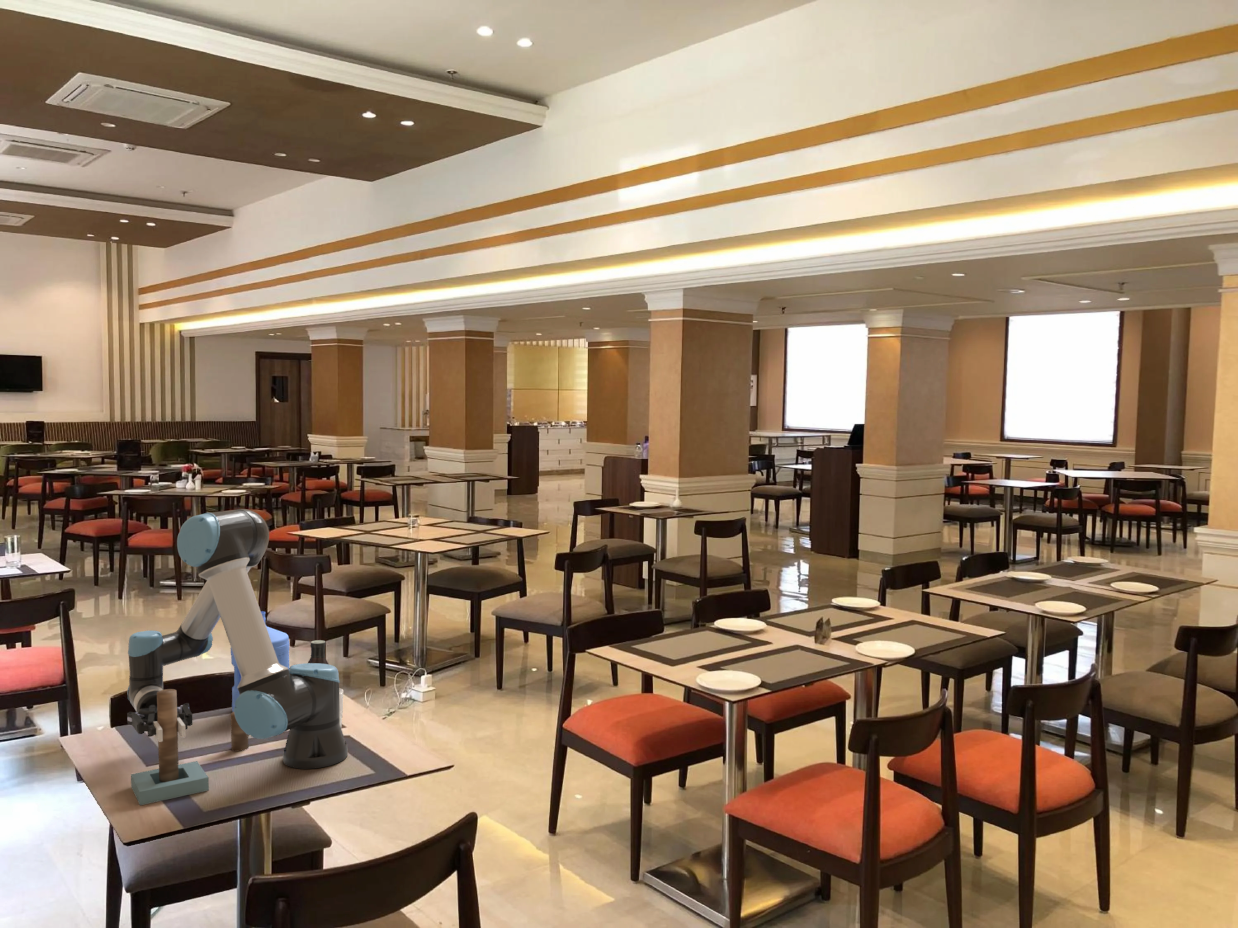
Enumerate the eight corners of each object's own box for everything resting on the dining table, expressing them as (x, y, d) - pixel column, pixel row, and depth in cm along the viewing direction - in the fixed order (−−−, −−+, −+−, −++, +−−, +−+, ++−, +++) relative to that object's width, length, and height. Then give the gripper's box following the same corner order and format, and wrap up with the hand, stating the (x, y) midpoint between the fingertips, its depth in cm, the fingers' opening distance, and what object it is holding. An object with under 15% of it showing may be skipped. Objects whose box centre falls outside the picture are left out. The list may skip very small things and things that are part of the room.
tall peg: (182, 776, 217) (180, 690, 215) (167, 783, 213) (165, 695, 212) (170, 773, 218) (168, 688, 217) (155, 780, 215) (152, 692, 213)
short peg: (251, 746, 242) (251, 711, 241) (239, 751, 238) (238, 716, 238) (240, 744, 244) (239, 709, 243) (227, 749, 240) (226, 714, 240)
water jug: (279, 697, 282) (277, 604, 280) (299, 711, 270) (297, 613, 268) (224, 708, 272) (222, 611, 271) (242, 722, 260) (240, 621, 258)
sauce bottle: (304, 715, 266) (303, 645, 265) (305, 708, 272) (304, 639, 271) (329, 713, 268) (328, 643, 267) (329, 706, 274) (328, 638, 273)
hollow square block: (131, 786, 217) (130, 773, 216) (197, 773, 225) (197, 760, 224) (140, 805, 207) (139, 791, 207) (208, 790, 215) (208, 777, 215)
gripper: (191, 714, 235) (213, 742, 216) (114, 727, 225) (129, 758, 206) (191, 684, 234) (212, 709, 215) (113, 696, 224) (128, 724, 205)
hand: (172, 733), depth 210 cm, fingers closed on tall peg, 4 cm apart
